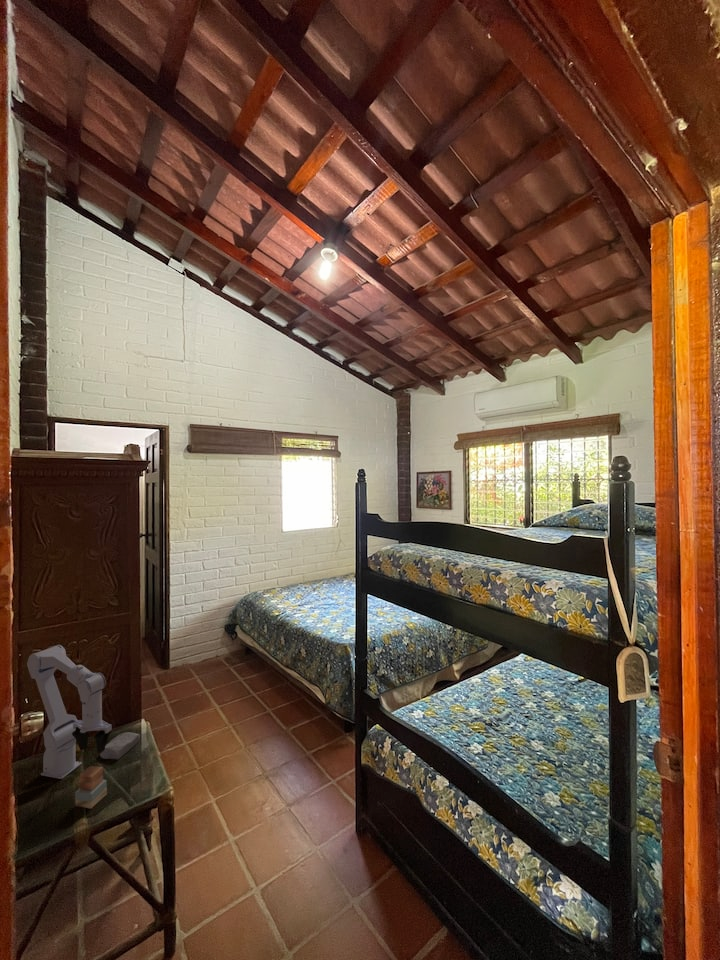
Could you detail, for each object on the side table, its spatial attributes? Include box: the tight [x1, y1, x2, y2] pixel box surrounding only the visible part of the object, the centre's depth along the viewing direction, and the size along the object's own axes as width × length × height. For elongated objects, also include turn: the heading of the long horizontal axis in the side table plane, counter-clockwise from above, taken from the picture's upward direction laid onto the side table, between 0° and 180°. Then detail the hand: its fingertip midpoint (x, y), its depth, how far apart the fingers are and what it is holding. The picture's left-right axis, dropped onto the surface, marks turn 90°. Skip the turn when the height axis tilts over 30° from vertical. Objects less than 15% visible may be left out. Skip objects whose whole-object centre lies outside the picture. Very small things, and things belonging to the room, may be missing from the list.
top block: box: [74, 779, 108, 802], centre depth 127 cm, size 6×6×2 cm
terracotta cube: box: [79, 765, 104, 791], centre depth 128 cm, size 4×4×4 cm
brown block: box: [75, 788, 108, 809], centre depth 127 cm, size 6×6×2 cm
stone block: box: [99, 731, 141, 760], centre depth 153 cm, size 12×5×10 cm
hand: (92, 750), depth 136 cm, fingers open, 7 cm apart
